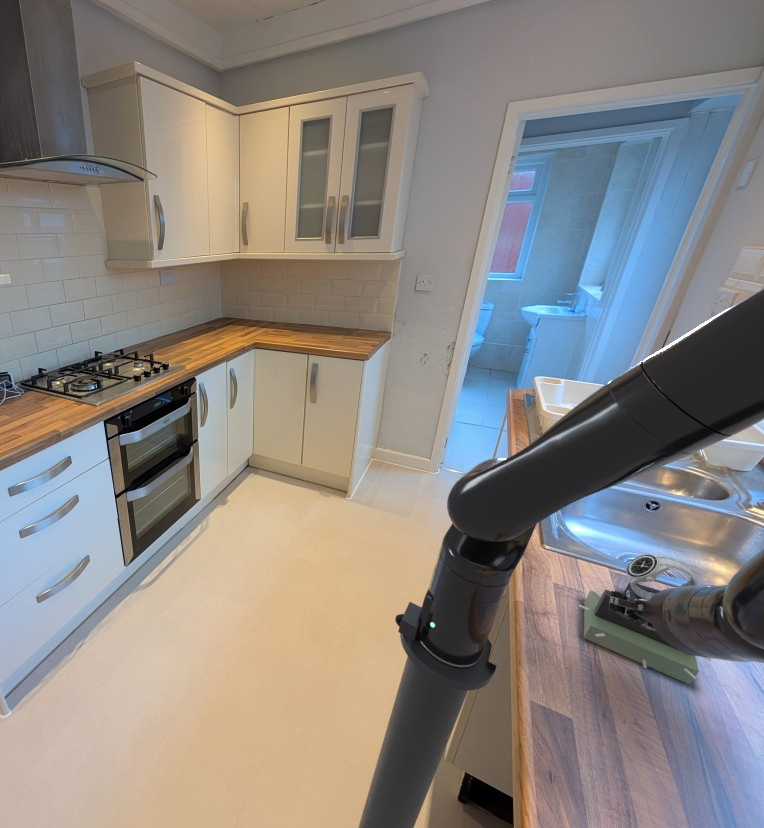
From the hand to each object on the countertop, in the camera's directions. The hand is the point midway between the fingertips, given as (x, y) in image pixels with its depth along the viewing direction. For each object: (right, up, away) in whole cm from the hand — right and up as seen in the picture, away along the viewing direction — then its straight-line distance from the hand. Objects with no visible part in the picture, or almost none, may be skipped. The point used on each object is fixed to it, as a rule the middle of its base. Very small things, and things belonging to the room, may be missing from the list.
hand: (642, 620), depth 62 cm
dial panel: (+4, -6, +6) cm, 10 cm away
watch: (+11, -4, +11) cm, 16 cm away
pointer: (+4, -4, +4) cm, 7 cm away
